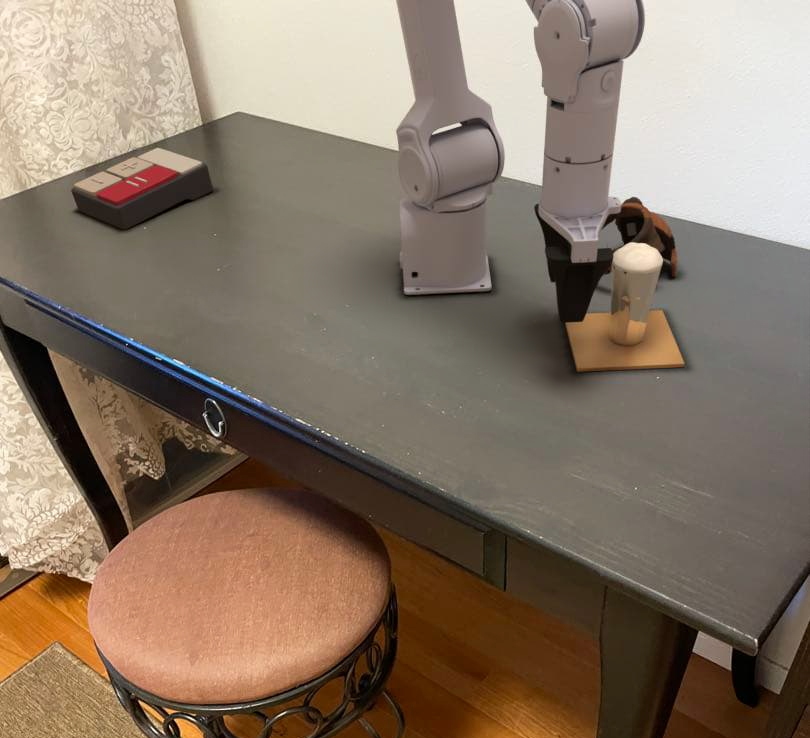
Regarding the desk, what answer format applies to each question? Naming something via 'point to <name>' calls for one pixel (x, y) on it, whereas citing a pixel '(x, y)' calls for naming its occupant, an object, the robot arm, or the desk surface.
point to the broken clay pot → (644, 230)
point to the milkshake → (632, 291)
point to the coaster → (604, 354)
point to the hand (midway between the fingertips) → (565, 299)
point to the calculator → (142, 187)
